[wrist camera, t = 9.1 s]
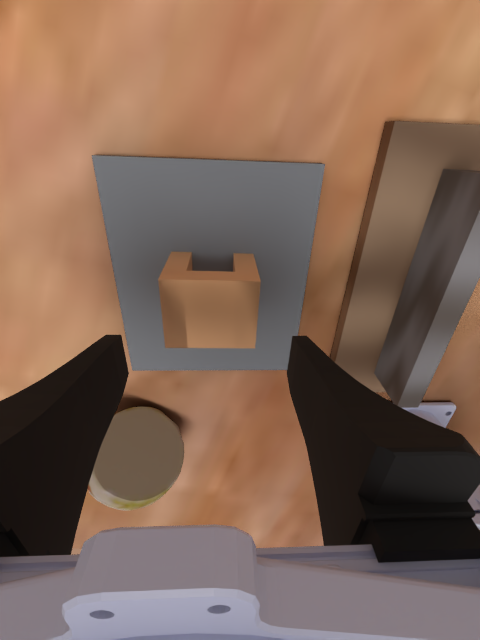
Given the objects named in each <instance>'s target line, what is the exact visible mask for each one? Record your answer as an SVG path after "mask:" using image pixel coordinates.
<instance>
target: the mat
mask: <svg viewBox="0 0 480 640" xmlns="http://www.w3.org/2000/svg"><path fill="white" fill-rule="evenodd" d="M92 159H93V165H94V170H95V175H96V181H97V186H98V191H99V196H100V202H101V207H102V212H103V218H104V223H105V228H106V233H107V239H108V244H109V249H110V255H111V260H112V265H113V270H114V276H115V281H116V286H117V292H118V297H119V302H120V308H121V313H122V318H123V323H124V329H125V334H126V339H127V345H128V350H129V355H130V360H131V366H132V370H287V369H288V362H289V355H290V348H291V341H292V336H298V331H299V325H300V318H301V312H302V306H303V300H304V293H305V287H306V281H307V274H308V268H309V262H310V256H311V249H312V243H313V237H314V230H315V224H316V218H317V212H318V205H319V199H320V193H321V186H322V180H323V174H324V167H325V164H322V163H297V162H270V161H243V160H216V159H190V158H163V157H136V156H109V155H92ZM171 252H192V271H227V272H233V253H244V254H254V258H255V262H256V266H257V269H258V273H259V277H260V280H261V284H260V296H259V308H258V320H257V332H256V344H255V348H165V341H164V331H163V322H162V312H161V302H160V292H159V283H158V279H159V276H160V274H161V272H162V270H163V268H164V266H165V264H166V262H167V260H168V258H169V255H170V253H171Z"/></svg>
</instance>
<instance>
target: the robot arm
mask: <svg viewBox="0 0 480 640" xmlns="http://www.w3.org/2000/svg"><path fill="white" fill-rule="evenodd" d="M128 374H129V373H128V367H127V362H126V357H125V352H124V347H123V342H122V337H121V335H105V336H104V337H102V338H101V339H99V340H98V341H96V342H95V343H94V344H92V345H91V346H90V347H88V348H87V349H85V350H84V351H83V352H81V353H80V354H79V355H77V356H76V357H74V358H73V359H72V360H70V361H69V362H67V363H66V364H64V365H63V366H61V367H60V368H58V369H57V370H55V371H54V372H52V373H51V374H49V375H48V376H46V377H45V378H43V379H41V380H40V381H38V382H36V383H34V384H33V385H31V386H29V387H27V388H25V389H24V390H22V391H20V392H18V393H16V394H14V395H12V396H10V397H8V398H6V399H4V400H2V401H0V640H480V456H479V455H478V454H477V452H476V451H475V450H474V449H473V447H472V446H471V445H470V444H469V443H468V441H467V440H466V439H465V438H464V437H463V435H462V434H459V433H457V432H454V431H452V430H449V429H447V428H446V426H447V424H448V422H449V420H450V419H451V417H452V415H453V413H454V412H455V410H456V406H455V405H454V403H452V402H432V403H420V405H419V407H416V408H401V407H399V406H397V405H395V404H394V403H392V402H390V401H388V400H386V399H385V398H383V397H381V396H380V395H378V394H376V393H375V392H373V391H372V390H370V389H369V388H367V387H366V386H364V385H363V384H361V383H360V382H359V381H357V380H356V379H355V378H353V377H352V376H351V375H349V374H348V373H347V372H346V371H344V370H343V369H342V368H341V367H340V366H338V365H337V364H336V363H335V362H334V361H333V360H332V359H330V358H329V357H328V356H327V355H326V354H325V353H324V352H323V351H322V350H321V349H320V348H319V347H318V346H317V345H316V344H315V343H313V342H312V341H311V340H310V339H309V338H308V337H307V336H292V341H291V348H290V355H289V362H288V369H287V377H288V383H289V389H290V394H291V397H292V401H293V404H294V407H295V410H296V413H297V417H298V420H299V423H300V426H301V429H302V433H303V436H304V439H305V443H306V446H307V451H308V456H309V461H310V466H311V470H312V476H313V481H314V487H315V492H316V498H317V504H318V510H319V516H320V522H321V528H322V535H323V542H324V546H310V547H281V548H256V546H255V544H254V541H253V539H252V537H251V536H250V535H249V534H248V533H246V532H244V531H242V530H240V529H238V528H236V527H232V526H223V525H187V526H153V527H120V528H115V529H109V530H103V531H100V532H99V533H97V534H96V535H94V536H93V537H91V538H90V539H88V540H87V541H85V542H84V544H83V547H82V550H81V553H80V554H77V555H71V551H72V547H73V542H74V538H75V534H76V530H77V526H78V522H79V518H80V514H81V510H82V507H83V503H84V499H85V496H86V492H87V489H88V485H89V482H90V478H91V475H92V472H93V468H94V465H95V462H96V459H97V456H98V452H99V450H100V447H101V445H102V442H103V440H104V437H105V435H106V433H107V430H108V428H109V426H110V423H111V421H112V419H113V417H114V414H115V412H116V410H117V407H118V405H119V403H120V400H121V398H122V395H123V392H124V389H125V385H126V382H127V378H128Z"/></svg>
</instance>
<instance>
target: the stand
mask: <svg viewBox="0 0 480 640" xmlns="http://www.w3.org/2000/svg"><path fill="white" fill-rule="evenodd" d="M479 278H480V125H472V124H451V123H429V122H408V121H390V122H385V126H384V130H383V135H382V139H381V143H380V147H379V152H378V156H377V160H376V164H375V169H374V173H373V177H372V181H371V186H370V190H369V194H368V199H367V203H366V207H365V211H364V216H363V220H362V224H361V228H360V233H359V237H358V241H357V245H356V250H355V254H354V258H353V262H352V267H351V271H350V275H349V279H348V284H347V288H346V292H345V296H344V301H343V305H342V309H341V313H340V318H339V322H338V326H337V330H336V335H335V339H334V343H333V347H332V352H331V356H330V359H332V360H333V361H334V362H335V363H336V364H337V365H338V366H340V367H341V368H342V369H343V370H344V371H346V372H347V373H348V374H349V375H351V376H352V377H353V378H355V379H356V380H357V381H359V382H360V383H361V384H363V385H364V386H366V387H367V388H369V389H370V390H372V391H373V392H387V394H388V395H389V397H390V398H391V400H392V401H393V403H394V404H395V405H397V406H399V407H401V408H416V407H419V405H420V403H421V401H422V399H423V397H424V394H425V392H426V390H427V388H428V386H429V384H430V382H431V380H432V378H433V375H434V373H435V371H436V369H437V367H438V365H439V363H440V361H441V358H442V356H443V354H444V352H445V350H446V348H447V346H448V344H449V341H450V339H451V337H452V335H453V333H454V331H455V329H456V327H457V325H458V322H459V320H460V318H461V316H462V314H463V312H464V310H465V308H466V305H467V303H468V301H469V299H470V297H471V295H472V293H473V291H474V288H475V286H476V284H477V282H478V280H479Z"/></svg>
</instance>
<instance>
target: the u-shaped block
mask: <svg viewBox="0 0 480 640" xmlns="http://www.w3.org/2000/svg"><path fill="white" fill-rule="evenodd" d="M158 283H159V292H160V302H161V312H162V322H163V331H164V341H165V348H255V344H256V332H257V320H258V308H259V296H260V284H261V280H260V277H259V273H258V269H257V266H256V262H255V258H254V254H244V253H233V272H227V271H192V252H171V253H170V255H169V258H168V260H167V262H166V264H165V266H164V268H163V270H162V272H161V274H160V276H159V279H158Z"/></svg>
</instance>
